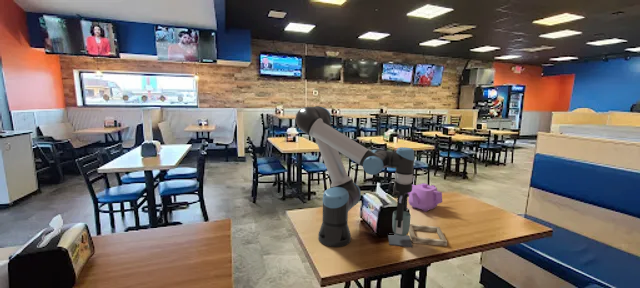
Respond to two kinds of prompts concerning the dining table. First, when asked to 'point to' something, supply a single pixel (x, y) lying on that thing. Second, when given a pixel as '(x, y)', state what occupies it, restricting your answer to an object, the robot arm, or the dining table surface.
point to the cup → (405, 223)
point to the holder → (440, 242)
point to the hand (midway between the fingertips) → (400, 229)
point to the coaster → (400, 240)
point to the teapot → (424, 197)
